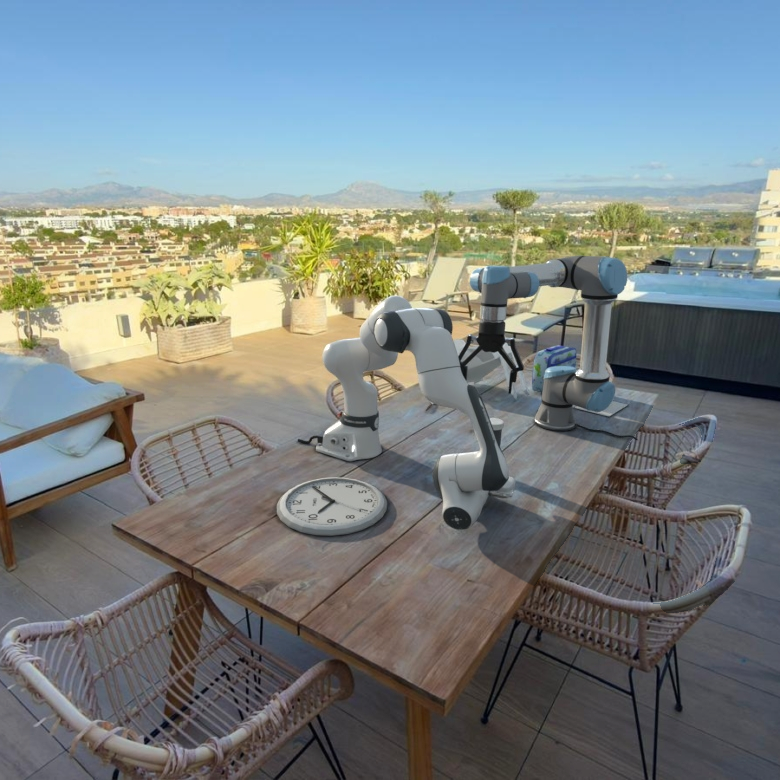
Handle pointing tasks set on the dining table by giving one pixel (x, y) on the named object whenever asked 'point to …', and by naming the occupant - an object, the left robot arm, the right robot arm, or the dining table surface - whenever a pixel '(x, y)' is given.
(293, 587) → the dining table surface
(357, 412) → the left robot arm
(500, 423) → the lid
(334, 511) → the wall clock
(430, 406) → the fork
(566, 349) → the lunch box
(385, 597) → the dining table surface
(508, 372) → the white plastic object
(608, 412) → the invitation card
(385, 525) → the dining table surface
